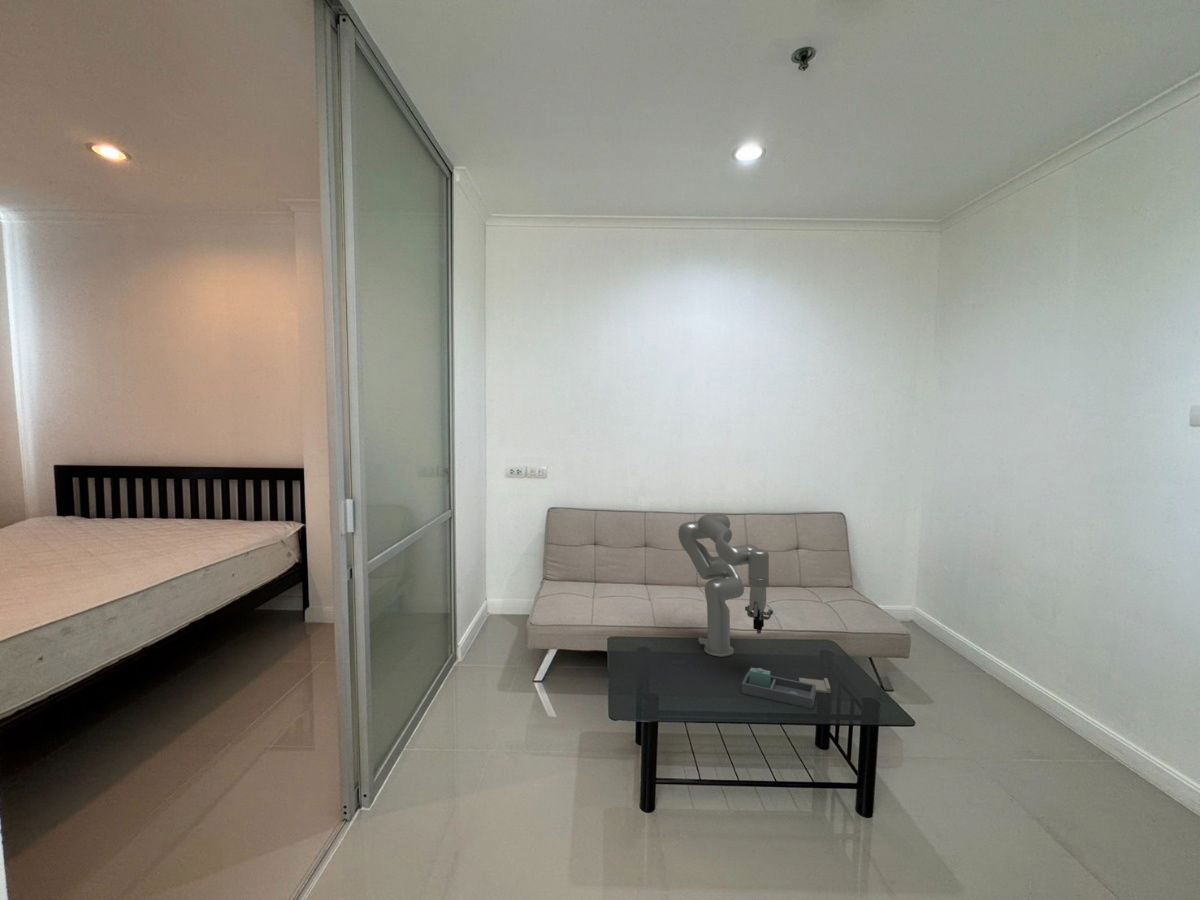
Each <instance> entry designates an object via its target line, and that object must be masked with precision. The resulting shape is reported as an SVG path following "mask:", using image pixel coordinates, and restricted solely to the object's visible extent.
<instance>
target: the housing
mask: <svg viewBox="0 0 1200 900" xmlns="http://www.w3.org/2000/svg"><path fill="white" fill-rule="evenodd" d="M771 672H772V671H771V670H766V669H764V668H761V667H750V669H749V670H748V671H747V673H746V674H745V676H744V678H743V680H742V682H741V694H744V695H747V696H748V695H749V696H753V697H757V698H763V699H765V700H769V701H770V700H772V701H775V702H780V703H785V704H789V705H793V706H798V707H802V708H807V709H811V710H812V709H814V706H815V705H814V704H815V699H816V695H817V693H816V685H814V684H809V683H804V682H799V680H798V681H797V680H793V679H789V678H785V677H779V676H773V675H771V674H772V673H771Z"/></svg>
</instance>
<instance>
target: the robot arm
mask: <svg viewBox="0 0 1200 900" xmlns="http://www.w3.org/2000/svg"><path fill="white" fill-rule="evenodd" d="M730 521H731V520H730V519H729V517H728V515H726V514H724V513H720V512H719V513H708V514H704V515H701V516H700V517H699V519H698V520H694V521H687V522H684V523H682V524H681V525H680V526H679V528H678V532H677V533H678V534H677V535H678V539H679V544H680V545H681V546H682V548H683V549H684V551H685V552H686V553H687V555H688V556H689V558H690V560H691V562H692V564H693V566H694V568H695V569H696V572H697V573H698V575H699V576H700V578H701V579H703V580H708V581H706V583H705V584H704V585H705V586H704V594H705V599H706V611H707V612H706V615H707V616H706V619H707V624H706V625H707V626H706V627H707V637H706V638H704V637H701V636H699V637H698V639H697V640H698V643H699V644H700V645H704V647H703V650H704V652H705V653H707V654H708V655H710V656H713V657H719V658H720V657H721V658H722V657H730V656H731V655H733V654H734V647H733V646H731V630H730V629H731V628H730V627H731V622H730V621H731V620H730V619H731V618H730V617H731V615H730V609H729V607H728V605H727V603H726V601H728V600H729V601H730V600H733V599H738V598H740V597H742V596H743V595H744V591H745V587H744V584H743V580H742V578H741V577H740V576H739V574H738V572H737V570H736V568H735V567H738V566H743V565H748V586H749V587H750V588H749V600H748V601H749V602H748V603H749V611H750V612H751V611H752V612H754V618H753V619H752V621H753V624H752V627H753V629H754V630H756V631H757V630H761V631H762V630H763V628H764V626H765V623H764V622H765V620H764V619H762V620H761V613H762V612H763V611H764V612H765V609H766V607H767V588H768V587H769V586H770V585H769V583H770V582H769V581H770V578H769V577H770V573H769V571H770V569H769V568H770V567H769V565H770V563H769V562H770V560H769V558H770V554H769V552H768V550H766V549H762V548H759V547H757V546H755V545H753V544H743V545H736V546H731V545H730V544H729V543H730V542H731V540H732V537H733V532H732V530H731V529H730V527H731V522H730ZM703 539H704V540H705V539H710V540H711V541H712V542H714V543H715V546H714V547H715V550H716V553H717V556H712V555H711V554H710V552H709V551H708V549H707V548H706V546H704V545H703V544H702V543H701V542H699V541H698V540H703ZM753 609H754V611H753ZM758 610H759V611H758ZM763 616H765V615H763Z"/></svg>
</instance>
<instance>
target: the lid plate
mask: <svg viewBox="0 0 1200 900" xmlns="http://www.w3.org/2000/svg"><path fill="white" fill-rule="evenodd" d="M798 681H799V682H804V683H809V684H814V685H816V692H817V693H823V694H832V690H831V685H830V681H829V680H828V678H827V677H824V678H823V679H813V678H806V677H805V678H803V677H798Z"/></svg>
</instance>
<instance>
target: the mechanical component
mask: <svg viewBox="0 0 1200 900" xmlns="http://www.w3.org/2000/svg"><path fill="white" fill-rule="evenodd" d="M744 610H745V611H746V615H747V616H748V618H753V619H754V609H753V610H752V611H751V612H750V611H749V605H747V606H745V607H744ZM758 611H759V610H758ZM763 615H764V616H763ZM772 615H774V610H772V609H770V608H768V611H765V610H764V611H763V612H762V613H761V620H762V619H764V621H769V620H770V618H771V616H772ZM761 633H762V630H757V629H756V634H758V635H760V634H761Z"/></svg>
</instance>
